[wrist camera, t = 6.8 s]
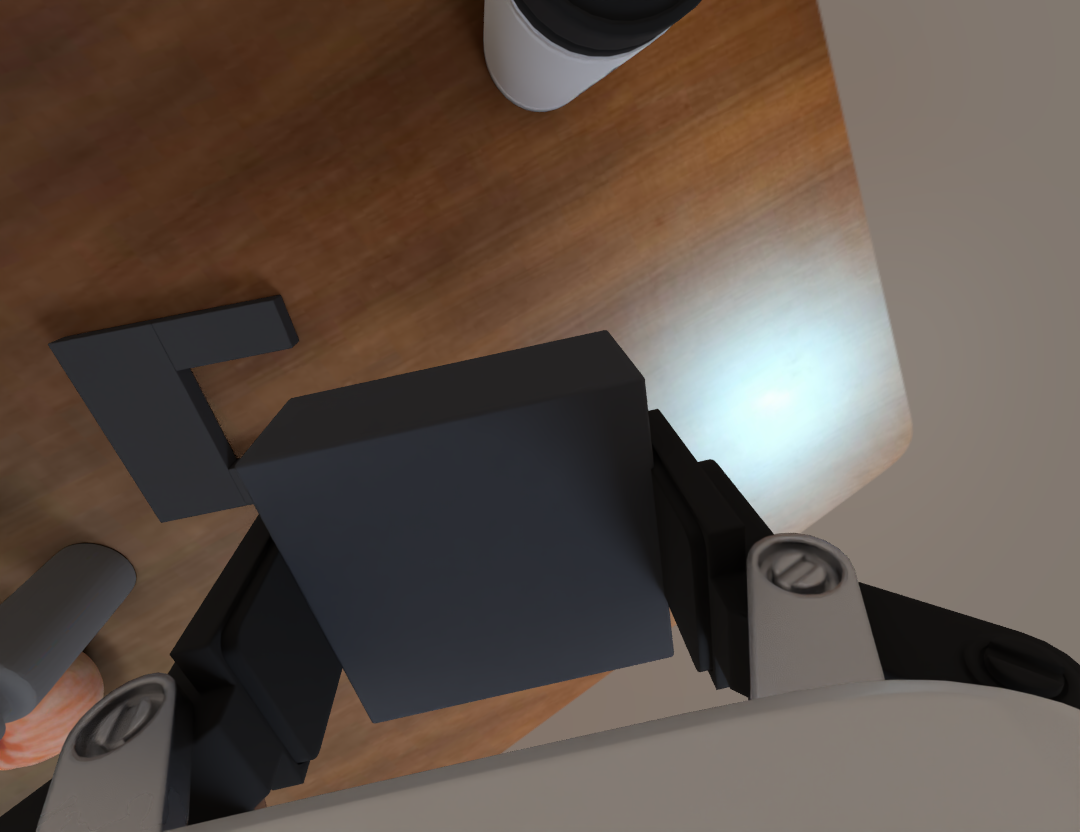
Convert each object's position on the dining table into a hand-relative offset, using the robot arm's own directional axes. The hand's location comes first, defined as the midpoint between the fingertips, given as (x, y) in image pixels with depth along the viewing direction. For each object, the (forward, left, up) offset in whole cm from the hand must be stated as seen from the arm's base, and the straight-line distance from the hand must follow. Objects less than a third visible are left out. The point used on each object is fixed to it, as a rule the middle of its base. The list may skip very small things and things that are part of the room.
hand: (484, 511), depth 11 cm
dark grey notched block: (+6, -20, -26) cm, 33 cm away
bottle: (+17, -35, -26) cm, 47 cm away
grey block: (0, 0, -1) cm, 1 cm away
